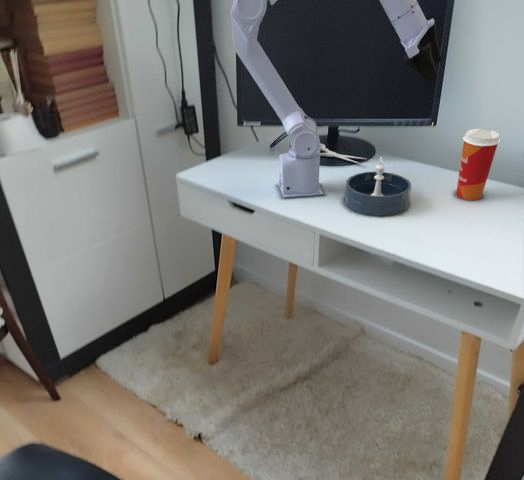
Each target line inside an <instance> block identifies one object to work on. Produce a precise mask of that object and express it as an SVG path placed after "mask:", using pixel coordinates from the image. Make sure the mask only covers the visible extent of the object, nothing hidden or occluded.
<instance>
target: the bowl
mask: <svg viewBox="0 0 524 480" xmlns="http://www.w3.org/2000/svg"><path fill="white" fill-rule="evenodd" d="M376 175H377V171H365V172H359V173H356V174H353V175H352V176H351V175H350V177H348V179H346V183H345V194H344V195H345V196H344V203H345V205H346V206H347V207H348V208H350V210H352V211H355V212H358V213H360V214H365V215H369V216H389V215H394V214H399V213H401V212H403V211H405V210H406V209H407V208H408V206H409V204H410V196H411V191H412V183H411V181H410V180H409V179H407V178H405V177H404V176H402V175H399V174H396V173H393V172H387V171H386V172H385V171H383V174H382V176H384V179H382V180H381V194H382V195H384V196H372V195H371V194H372V193H374V190H375V185H376V181H377V179H375V178H374V177H375V176H376Z"/></svg>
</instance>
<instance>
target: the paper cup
mask: <svg viewBox="0 0 524 480" xmlns="http://www.w3.org/2000/svg"><path fill="white" fill-rule="evenodd" d="M462 140H463V145H462V151H461V152H462V153H461V158H460V165H459V170H458V178H457V186H456V197H457V198H459V199H461V200H465V201H477V200H480V199H481V198H482V196H483V193H484V189H485V187H486V184H487V181H488V177H489V175H490V174H489V173H490V171H491V168H492V165H493V161H494V158H495V154H496V152H497V151H496V150H497V148H498V145H499V144H500V143H501V139H500V134H499V132H497V131H495V130H492V129H491V130H489V129H485V128H483V129H481V128H472V129H468V130H467V131H466V132H465V135H463V137H462Z"/></svg>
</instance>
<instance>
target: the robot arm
mask: <svg viewBox="0 0 524 480" xmlns="http://www.w3.org/2000/svg"><path fill="white" fill-rule="evenodd" d="M268 1H269V3H270V6H273V5H274V4H276V2H277V1H278V0H233V2H232V6H231V10H230V18H231V33H232V35H231V36H232V47H233V50H234V51H235V53H236V54H237V56H238V58H239V59H240V61H241V62H242V64H243V65H244V66H245V68H246V70H247V71H248V72H249V74H250V75H251V77H252V79H253V81H254V82H255V83H256V85H257V86H258V88H259V89H260V91H261V92H262V94H263V96H264V97H265V98H266V100H267V102H268V103H269V104H270V106H271V107H272V109H273V111H274V112H275V114H276V115H277V117H278V118H279V120H280V121H281V123H282V126H283V128H284V129H285V133H286V134H287V136H288V137H289V139H290V147H289V148H288V152H286V153H281V154H279V157H278V187H279V189H280V192H281V195H282V197H283V198H299V197H311V196H312V197H313V196H322V195H324V192H323V191H324V190H323V189H322V187H321V186H320V166H321V164H320V163H321V156H320V153H321V150H320V149H319V147H321V146H320V144H321V139H320V136H319V132H318V131H319V127H318V125H317V122H316V121H315V120H314V119H313V118H311V117H309V116H308V115H307V114H306V113H305V112H304V110H303V109H302V107H300V106H299V104H298V103H297V102H296V100H295V98H294V97H293V95H292V93H291V91H290V90H289V89H288V87H287V86H286V84H285V82H284V80H283V79H282V78H281V76H280V75H279V73H278V71H277V69H276V68H275V66H274V65H273V63H272V61H271V60H270V59H269V57H268V55H267V54H266V52H265V51H264V49H263V48H262V46H261V44H260V42H259V41H258V35H259V31H260V24H261V22H262V20H263V18H264V16H265V14H266V11H267V8H268V7H267V5H268ZM379 2H380V4H381V7H382V8H383V10H384V12H385V14H386V15H387V17H388V19H389V21H390V23H391V25H392V26H393V28H394V30H395V32H396V34H397V35H398V37H399V40H400V44H401V45H402V46H403V48H404V51H405V53H406V55H404V56H403V61H402V62H403V63H404V64H405V65H406V66H409V67H410V68H412V69H413V70H415V71H416V72H417V74H419V75H420V77H421V78H422V79H423V80H424V81H425V82H426V83H428V84H431V82H433V81H435V80H437V79H439V78H438V77H439V75H438V70H437V68H436V65H438V64H439V63H441V62H442V55H441V51H440V47H439V43H438V39H437V23H436V22H435V19H434V18H430V19H429V20H428V19H427V18H426V16H425V14H424V13H423V11H422V8H421V6H420V4H419V2H418V0H379Z"/></svg>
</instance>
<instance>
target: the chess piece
mask: <svg viewBox="0 0 524 480" xmlns="http://www.w3.org/2000/svg"><path fill="white" fill-rule="evenodd" d="M385 169H386V166H385V165H383V157H381V156H380V158H379V164H377V165H376V166H375V172H377V175H376V176H375V177H374V178H375V179H377V181H376V185H375V190H374V193H372V194H371V195H372V196H384V195H382V194H381V180H382V179H384V176H382V174H383V172H385Z"/></svg>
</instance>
